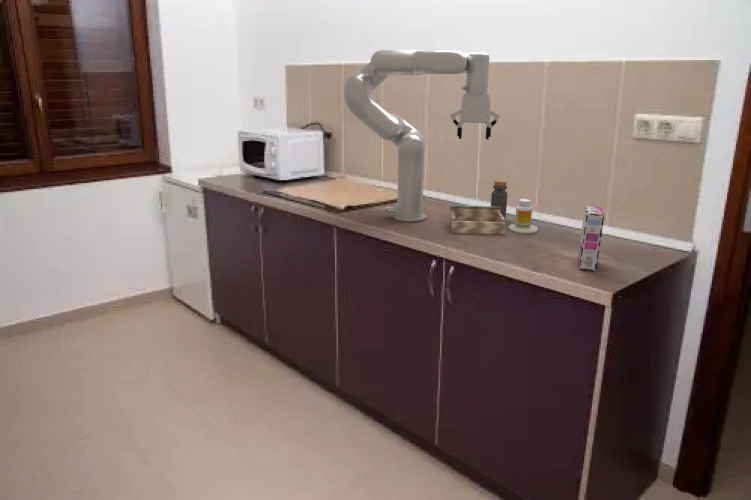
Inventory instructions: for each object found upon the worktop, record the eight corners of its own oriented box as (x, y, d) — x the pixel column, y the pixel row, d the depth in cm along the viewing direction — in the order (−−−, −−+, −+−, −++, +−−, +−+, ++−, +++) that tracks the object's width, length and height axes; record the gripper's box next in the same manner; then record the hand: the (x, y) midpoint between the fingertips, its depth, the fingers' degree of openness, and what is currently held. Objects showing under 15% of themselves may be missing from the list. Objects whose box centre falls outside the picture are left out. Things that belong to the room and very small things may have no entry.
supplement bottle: (533, 228, 204) (536, 201, 201) (519, 229, 203) (522, 202, 200) (524, 224, 209) (527, 198, 206) (511, 225, 208) (514, 198, 205)
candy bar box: (597, 272, 163) (605, 215, 158) (578, 270, 164) (585, 213, 160) (595, 260, 173) (602, 206, 169) (577, 258, 175) (584, 205, 170)
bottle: (505, 222, 216) (508, 182, 212) (489, 221, 217) (492, 181, 213) (505, 219, 222) (508, 179, 217) (489, 218, 223) (492, 179, 218)
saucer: (511, 233, 202) (511, 230, 201) (506, 226, 211) (506, 223, 211) (540, 234, 201) (540, 231, 201) (534, 226, 211) (534, 224, 210)
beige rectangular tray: (452, 232, 201) (453, 213, 199) (449, 223, 213) (450, 205, 212) (504, 234, 200) (506, 215, 198) (498, 224, 213) (500, 206, 211)
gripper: (452, 89, 201) (450, 139, 206) (503, 90, 200) (499, 140, 205) (450, 88, 208) (448, 137, 213) (499, 89, 207) (496, 138, 212)
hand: (473, 138), depth 209 cm, fingers open, 9 cm apart
